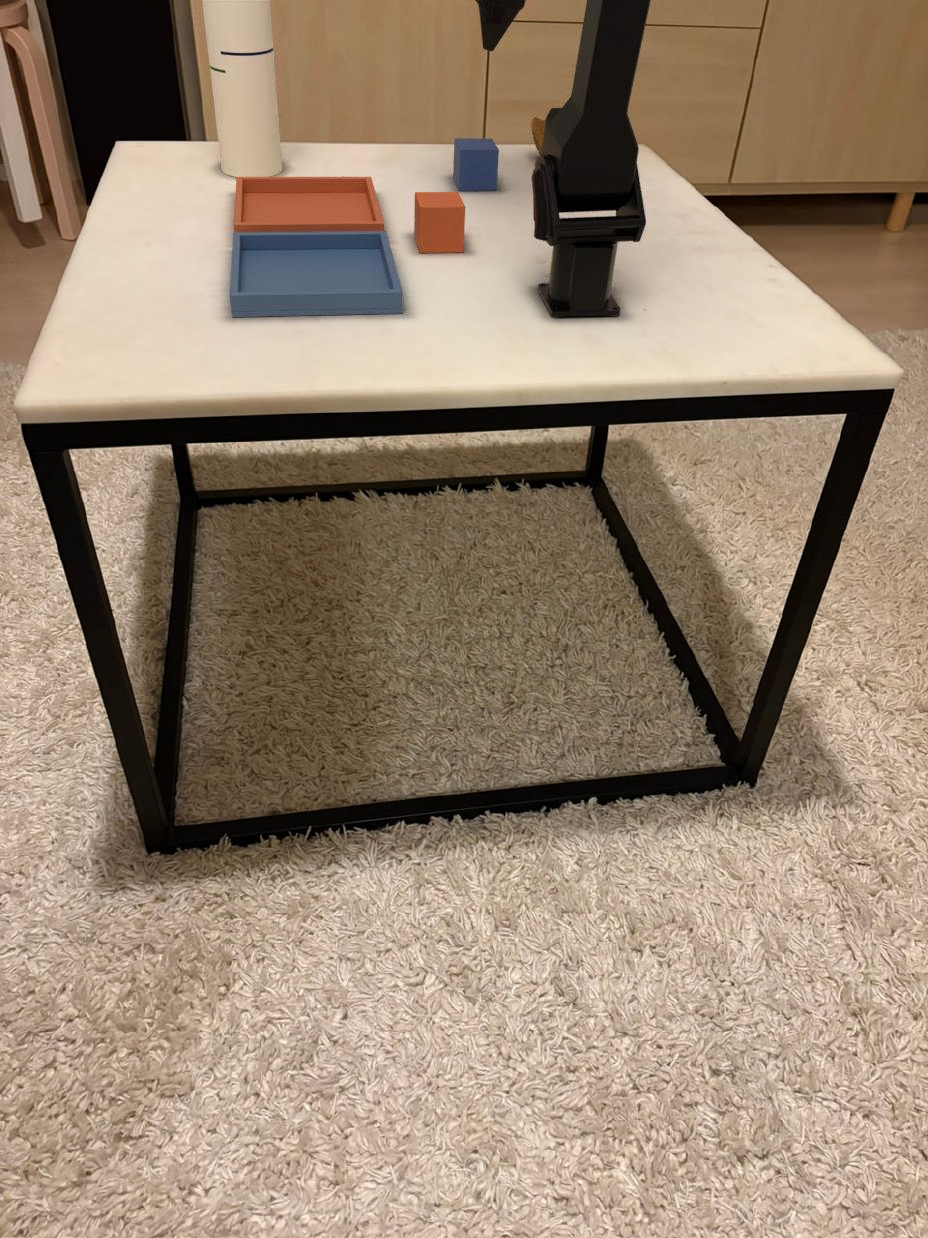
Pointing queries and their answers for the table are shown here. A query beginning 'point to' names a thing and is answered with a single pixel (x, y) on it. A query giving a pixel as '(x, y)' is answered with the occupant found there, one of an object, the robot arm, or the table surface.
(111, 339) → the table surface
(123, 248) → the table surface
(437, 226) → the clay block
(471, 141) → the blue block
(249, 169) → the cylindrical container
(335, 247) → the blue tray
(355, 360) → the table surface
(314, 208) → the clay tray
